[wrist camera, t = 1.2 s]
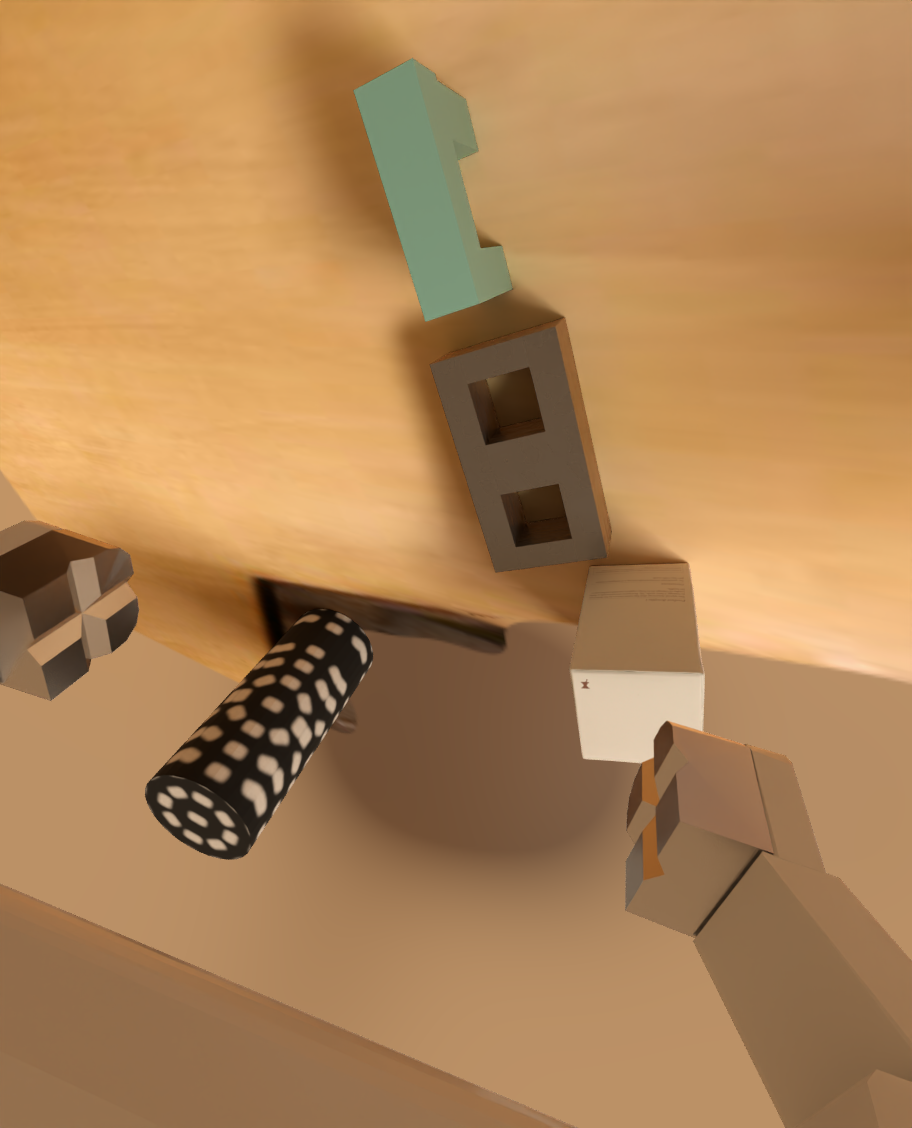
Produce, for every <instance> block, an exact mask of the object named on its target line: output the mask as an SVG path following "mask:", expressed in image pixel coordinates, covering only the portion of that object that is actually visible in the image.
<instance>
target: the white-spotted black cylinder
mask: <svg viewBox="0 0 912 1128" xmlns="http://www.w3.org/2000/svg"><path fill="white" fill-rule="evenodd" d="M372 661H373V651H372V646H371V644H370V641H369V639H368V637H367V636H366V634H365V633H364V631H363V630H362V629H361V628H360V627H359V626H358V625H357V624H356V623H355V622H354V621H353V620H351V619H349V618H348V617H346V616H345V615H343V614H340V613H338V612H335V611H332V610H327V609H315V610H311V611H308V612H306V613H305V614H303V615H302V616H301V617H300V618H299V619H298V620H297V621H296V623H295V624H294V625H293V626H292V627H291V628H290V629H289V630H288V631H287V632H286V633H285V635H284V636H283V637H282V638H281V639H280V640H279V641H278V642H277V643H276V644H275V645H274V646H273V648H272V649H271V650H270V651H269V652H268V653H267V654H266V655H265V656H264V657H263V658H262V659H261V661H260V662H259V663H258V664H257V665H256V666H255V667H254V668H253V669H252V670H251V671H250V672H249V674H248V675H247V676H246V677H245V678H244V679H243V680H242V681H241V682H240V683H239V684H238V686H237V687H236V688H235V689H234V690H233V691H232V692H231V693H230V694H229V695H228V696H227V697H226V699H225V700H224V701H223V702H222V703H221V704H220V705H219V706H218V707H217V708H216V709H215V711H214V712H213V713H212V714H211V715H210V716H209V717H208V718H207V719H206V720H205V721H204V722H203V724H202V725H201V726H200V727H199V728H198V729H197V730H196V731H195V732H194V733H193V734H192V735H191V737H190V738H189V739H188V740H187V741H186V742H185V743H184V744H183V745H182V746H181V747H180V749H179V750H178V751H177V752H176V753H175V754H174V755H173V756H172V757H171V758H170V759H169V761H168V762H167V763H166V764H165V765H164V766H163V767H162V768H161V769H160V770H159V771H158V773H156V775H155V776H154V777H153V778H152V779H151V780H150V781H149V783H147V786H146V788H145V797H146V800H147V804H148V806H149V808H150V810H151V812H152V813H153V814H154V816H155V817H156V819H157V820H158V821H159V822H160V823H161V824H162V825H163V827H164V828H165V829H167V830H168V831H169V832H170V833H171V834H172V835H173V836H175V837H176V838H177V839H179V840H180V841H181V842H183V843H185V844H186V845H188V846H190V847H191V848H193V849H195V850H197V851H199V852H201V853H204V854H206V855H209V856H212V857H216V858H220V859H228V860H229V859H238V858H241V857H243V856H244V855H246V854H247V853H248V852H249V850H250V849H251V847H252V846H253V844H254V842H255V841H256V840H257V838H258V837H259V835H260V833H261V832H262V830H263V829H264V827H265V826H266V824H267V823H268V821H269V820H270V818H271V817H272V815H273V814H274V812H275V811H276V809H277V808H278V806H279V805H280V803H281V802H282V800H283V799H284V797H285V796H286V794H287V792H288V791H289V789H290V788H291V786H292V785H293V783H294V782H295V780H296V779H297V777H298V776H299V774H300V773H301V771H302V770H303V768H304V767H305V765H306V764H307V762H308V761H309V759H310V758H311V756H312V754H313V753H314V751H315V750H316V748H317V747H318V745H319V744H320V742H321V741H322V739H323V738H324V736H325V734H326V733H327V732H328V730H329V729H330V727H331V726H332V724H333V723H334V721H335V720H336V718H337V717H338V715H339V714H340V712H341V711H342V709H343V707H344V706H345V704H346V703H347V701H348V700H349V698H350V697H351V695H352V694H353V692H354V691H355V689H356V688H357V686H358V685H359V683H360V682H361V680H362V679H363V677H364V676H365V674H366V673H367V671H368V669H369V668H370V666H371V664H372Z"/></svg>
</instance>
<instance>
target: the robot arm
mask: <svg viewBox="0 0 912 1128" xmlns="http://www.w3.org/2000/svg"><path fill="white" fill-rule="evenodd" d="M133 574H134V572H133V567H132V562H131V558H130V554H128V553H127V552H125V551H124V550H122V549H121V548H119V547H116V546H113V545H110V544H107V543H104V542H101V541H98V540H95V539H93V538H90V537H87V536H84V535H81V534H78V533H75V532H72V531H69V530H66V529H65V530H64V529H61V528H59V527H56V526H53V525H50V524H47V523H44V522H41V521H23V522H20V523H18V524H16V525H13V526H11V527H9V528H7V529H5V530H3V531H0V684H1V685H4V686H7V687H10V688H13V689H16V690H19V691H22V692H25V693H28V694H32V695H34V696H37V697H40V698H44V699H47V700H50V701H51V700H52V699H54V698H55V697H56V696H58V695H59V694H60V693H61V692H63V691H64V690H65V689H67V688H68V687H69V686H70V685H72V684H73V683H74V682H76V681H77V680H78V679H79V678H81V677H82V676H83V675H84V674H86V673H87V672H88V671H89V666H90V662H91V659H93V658H96V657H100V656H103V655H107V654H110V653H112V652H113V651H115V650H116V649H117V648H118V647H120V646H121V645H122V644H123V643H124V642H125V641H126V640H127V639H128V637H129V635H130V634H131V632H132V631H133V629H134V627H135V626H136V623H137V618H138V613H139V607H138V599H137V596H136V595H135V593H134V592H133V590H132V589H131V587H130V586H129V585H128V583H127V581H128V580H129V579H130V577H131V576H132V575H133ZM653 741H654V757H653V758H651V759H649V760H647V761H644V762H642V764H641V766H640V768H639V770H638V773H637V775H636V777H635V779H634V782H633V786H632V789H631V793H630V796H629V803H628V810H627V829H626V831H627V832H628V834H629V836H630V837H631V839H632V841H633V842H634V844H635V845H634V848H633V849H632V851H631V853H630V855H629V857H628V858H627V860H626V907H625V908H626V909H625V910H626V911H628V912H631V913H633V914H636V915H638V916H640V917H643V918H645V919H648V920H651V921H653V922H656V923H658V924H661V925H663V926H666V927H668V928H671V929H673V930H676V931H678V932H681V933H684V934H686V935H688V936H691V937H694V938H695V939H694V941H693V942H694V944H695V946H696V948H697V950H698V952H699V954H700V956H701V958H702V960H703V962H704V964H705V966H706V968H707V970H708V972H709V974H710V976H711V978H712V980H713V982H714V984H715V986H716V988H717V990H718V992H719V994H720V996H721V998H722V1000H723V1002H724V1005H725V1007H726V1009H727V1011H728V1013H729V1015H730V1016H731V1019H732V1021H733V1023H734V1025H735V1027H736V1029H737V1031H738V1033H739V1035H740V1036H741V1039H742V1041H743V1043H744V1045H745V1047H746V1049H747V1051H748V1053H749V1055H750V1057H751V1059H752V1061H753V1063H754V1065H755V1067H756V1069H757V1071H758V1073H759V1075H760V1077H761V1079H762V1081H763V1083H764V1085H765V1087H766V1089H767V1091H768V1093H769V1095H770V1097H771V1099H772V1101H773V1103H774V1105H775V1107H776V1109H777V1112H778V1114H779V1115H780V1118H781V1120H782V1122H783V1124H784V1126H785V1128H912V961H911V960H910V959H909V957H908V956H907V955H906V954H905V953H904V952H903V950H902V949H901V948H900V947H899V946H898V945H897V944H896V942H895V941H894V940H893V939H892V938H891V937H890V935H889V934H888V933H887V932H886V931H885V930H884V929H883V928H882V926H881V925H880V924H879V923H878V922H877V920H876V919H875V918H874V917H873V916H872V915H871V914H870V912H869V911H868V910H867V909H866V908H865V907H864V905H863V904H862V903H861V902H860V901H859V900H858V899H857V897H856V896H855V895H854V894H853V893H852V892H851V891H850V889H849V888H848V887H847V886H846V885H845V884H844V883H843V881H842V880H841V879H840V878H838V877H835V876H833V875H830V874H827V873H826V872H825V868H824V865H823V862H822V859H821V856H820V852H819V849H818V846H817V843H816V839H815V836H814V833H813V829H812V826H811V823H810V820H809V816H808V813H807V810H806V807H805V803H804V800H803V797H802V794H801V790H800V787H799V784H798V781H797V777H796V774H795V771H794V768H793V764H792V762H791V761H790V760H789V759H788V758H787V757H786V756H785V755H782V754H778V753H775V752H772V751H768V750H765V749H761V748H758V747H755V746H751V745H748V744H744V745H743V744H741V743H738V742H735V741H732V740H728V739H725V738H722V737H719V736H715V735H712V734H709V733H706V732H703V731H699V730H696V729H693V728H690V727H686V726H683V725H680V724H677V723H673V722H670V721H666V722H665V723H664V724H663V725H662V726H661V727H660V729H659V731H658V733H657V734H656V736H655V738H654V740H653ZM0 1128H577V1127H575V1126H572V1125H570V1124H567V1123H565V1122H563V1121H560V1120H558V1119H556V1118H553V1117H551V1116H549V1115H546V1114H544V1113H541V1112H539V1111H537V1110H534V1109H532V1108H530V1107H527V1106H525V1105H523V1104H520V1103H518V1102H516V1101H513V1100H511V1099H508V1098H506V1097H504V1096H501V1095H499V1094H497V1093H494V1092H492V1091H489V1090H487V1089H485V1088H482V1087H480V1086H478V1085H475V1084H473V1083H471V1082H468V1081H466V1080H464V1079H461V1078H459V1077H456V1076H454V1075H452V1074H449V1073H447V1072H445V1071H442V1070H440V1069H437V1068H435V1067H433V1066H430V1065H428V1064H426V1063H423V1062H421V1061H419V1060H416V1059H414V1058H412V1057H409V1056H407V1055H405V1054H402V1053H400V1052H397V1051H395V1050H393V1049H390V1048H388V1047H385V1046H383V1045H381V1044H379V1043H376V1042H374V1041H371V1040H369V1039H367V1038H364V1037H362V1036H359V1035H357V1034H355V1033H353V1032H350V1031H348V1030H345V1029H343V1028H341V1027H338V1026H336V1025H334V1024H331V1023H329V1022H327V1021H324V1020H322V1019H319V1018H317V1017H315V1016H312V1015H310V1014H307V1013H305V1012H303V1011H300V1010H298V1009H296V1008H293V1007H291V1006H288V1005H286V1004H284V1003H282V1002H279V1001H277V1000H274V999H272V998H270V997H267V996H265V995H263V994H260V993H258V992H256V991H253V990H251V989H248V988H246V987H244V986H242V985H239V984H237V983H234V982H232V981H230V980H227V979H225V978H222V977H220V976H218V975H216V974H213V973H211V972H208V971H206V970H203V969H201V968H199V967H197V966H194V965H191V964H190V963H187V962H184V961H182V960H180V959H178V958H175V957H173V956H170V955H168V954H166V953H163V952H161V951H159V950H156V949H154V948H151V947H149V946H147V945H144V944H142V943H140V942H137V941H135V940H133V939H130V938H128V937H126V936H123V935H121V934H119V933H116V932H114V931H112V930H109V929H107V928H104V927H102V926H100V925H97V924H95V923H93V922H90V921H88V920H86V919H83V918H81V917H78V916H76V915H74V914H71V913H69V912H66V911H64V910H62V909H60V908H57V907H55V906H52V905H50V904H48V903H45V902H43V901H40V900H38V899H36V898H33V897H31V896H29V895H26V894H24V893H22V892H19V891H17V890H14V889H12V888H10V887H8V886H5V885H3V884H0Z"/></svg>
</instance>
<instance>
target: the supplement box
mask: <svg viewBox="0 0 912 1128" xmlns="http://www.w3.org/2000/svg"><path fill="white" fill-rule="evenodd" d="M569 671H570V676H571V683H572V689H573V696H574V702H575V708H576V715H577V721H578V728H579V735H580V743H581V750H582V756H583V758H584V759H594V760H595V759H596V760H610V761H623V762H634V763H642V762H644V761H647V760H649V759H651V758H653V757H654V741H653V740H654V738H655V736H656V734H657V733H658V731H659V729H660V727H661V726H662V725H663V724H664V723H665V722H666V721H670V722H673V723H677V724H680V725H683V726H686V727H690V728H693V729H696V730H699V731H703V717H704V716H703V715H704V685H705V684H704V683H705V674H704V669H703V664H702V658H701V651H700V642H699V634H698V626H697V616H696V608H695V600H694V591H693V584H692V577H691V570H690V566H689V564H688V563H677V564H645V565H614V566H590V567H589V571H588V576H587V582H586V587H585V592H584V597H583V602H582V607H581V613H580V618H579V623H578V628H577V633H576V638H575V643H574V648H573V654H572V659H571V663H570V669H569Z"/></svg>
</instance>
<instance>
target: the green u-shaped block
mask: <svg viewBox="0 0 912 1128" xmlns="http://www.w3.org/2000/svg"><path fill="white" fill-rule="evenodd" d="M353 91H354V94H355V97H356V100H357V103H358V107H359V110H360V113H361V116H362V119H363V123H364V126H365V129H366V132H367V135H368V139H369V142H370V145H371V148H372V152H373V155H374V158H375V161H376V164H377V168H378V171H379V174H380V177H381V180H382V184H383V187H384V190H385V193H386V197H387V200H388V203H389V206H390V209H391V213H392V216H393V219H394V222H395V225H396V229H397V232H398V235H399V238H400V242H401V245H402V248H403V251H404V254H405V258H406V261H407V264H408V267H409V270H410V274H411V277H412V280H413V283H414V286H415V290H416V293H417V296H418V299H419V303H420V306H421V309H422V312H423V315H424V319H425V322H426V321H429V320H432V319H435V318H438V317H441V316H444V315H447V314H450V313H453V312H456V311H459V310H462V309H465V308H468V307H471V306H474V305H477V304H480V303H482V302H485V301H487V300H489V299H492V298H494V297H495V296H498V295H500V294H503V293H505V292H507V291H510V290H512V289H513V288H512V284H511V280H510V276H509V272H508V268H507V264H506V260H505V256H504V252H503V248H502V246H496V247H487V248H481V247H480V243H479V239H478V236H477V232H476V228H475V224H474V220H473V217H472V213H471V209H470V205H469V201H468V197H467V194H466V190H465V186H464V182H463V178H462V175H461V171H460V167H459V163H458V160H460V159H462V158H464V157H467V156H469V155H471V154H473V153H475V152H478V147H477V143H476V139H475V135H474V131H473V127H472V123H471V119H470V115H469V111H468V106H467V102H466V99H464V98H463V97H461V96H460V95H458V94H457V93H455V92H454V91H452V90H451V89H449V88H448V87H446V86H445V85H443V84H442V83H440V82H439V81H437V79H436V75H435V73H433V72H432V71H430V70H429V69H428V68H426V67H425V66H423V65H422V64H420V63H419V62H417V61H416V60H414V59H413V58H412V59H410V60H408V61H407V62H405V63H403V64H401V65H399V66H397V67H396V68H394V69H392V70H390V71H388V72H386V73H385V74H383V75H381V76H379V77H377V78H375V79H374V80H372V81H370V82H368V83H366V84H364V85H363V86H361V87H359V88H357V89H355V90H353Z"/></svg>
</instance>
